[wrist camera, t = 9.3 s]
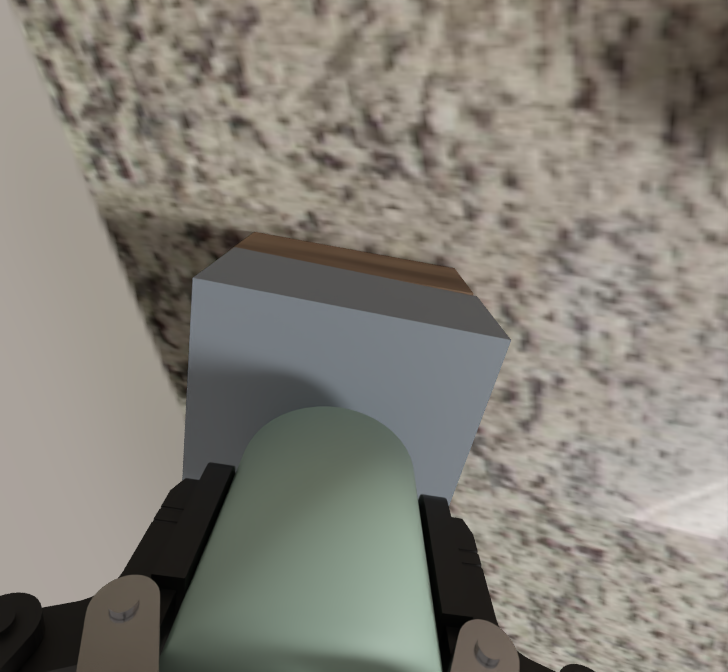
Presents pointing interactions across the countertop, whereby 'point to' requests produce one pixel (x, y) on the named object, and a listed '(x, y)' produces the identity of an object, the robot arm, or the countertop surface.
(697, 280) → the countertop surface
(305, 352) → the slate grey top block
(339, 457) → the pale green rounded block
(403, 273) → the walnut base block
